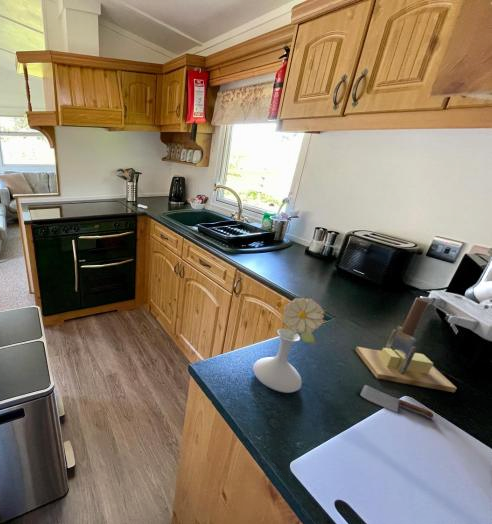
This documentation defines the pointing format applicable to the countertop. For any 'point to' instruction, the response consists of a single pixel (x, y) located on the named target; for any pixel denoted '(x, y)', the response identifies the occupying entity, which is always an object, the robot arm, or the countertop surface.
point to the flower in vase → (290, 345)
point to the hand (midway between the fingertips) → (433, 308)
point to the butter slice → (389, 357)
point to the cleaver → (392, 402)
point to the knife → (410, 327)
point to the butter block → (415, 363)
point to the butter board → (403, 369)
